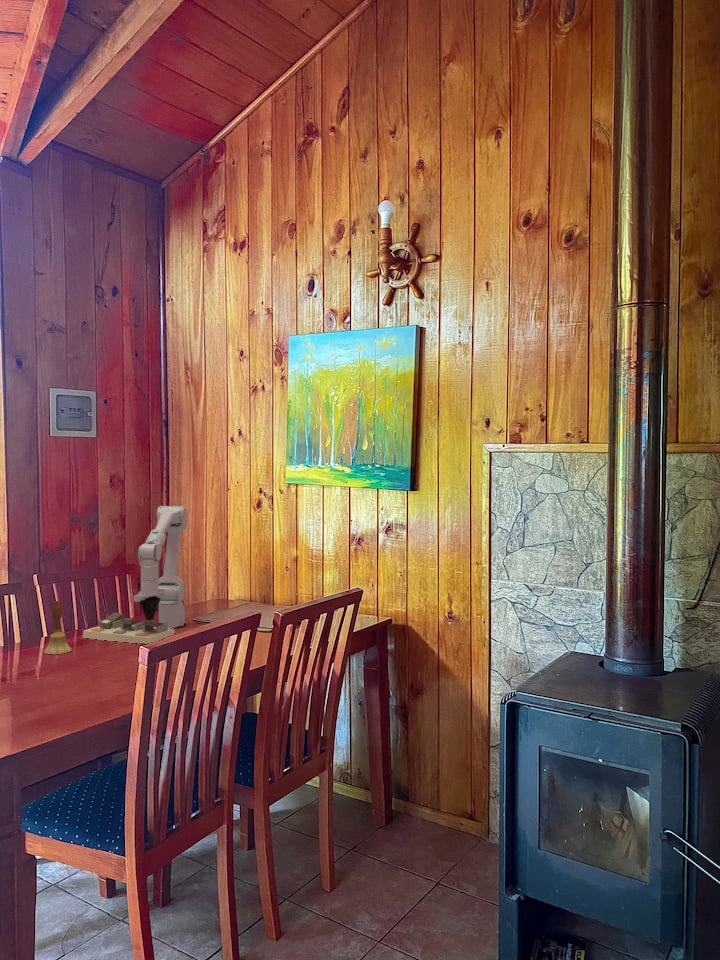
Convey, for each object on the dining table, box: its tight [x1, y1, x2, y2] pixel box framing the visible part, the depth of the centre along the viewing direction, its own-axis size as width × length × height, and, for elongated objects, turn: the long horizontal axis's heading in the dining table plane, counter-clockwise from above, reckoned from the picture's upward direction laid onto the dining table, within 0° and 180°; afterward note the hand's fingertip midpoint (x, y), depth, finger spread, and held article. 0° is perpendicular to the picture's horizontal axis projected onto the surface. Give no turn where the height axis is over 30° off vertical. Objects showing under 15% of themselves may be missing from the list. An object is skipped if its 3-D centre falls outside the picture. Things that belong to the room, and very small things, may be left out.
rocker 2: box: [142, 620, 166, 627], centre depth 247 cm, size 8×4×2 cm, turn 160°
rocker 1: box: [98, 612, 125, 628], centre depth 253 cm, size 8×4×2 cm, turn 160°
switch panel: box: [82, 619, 176, 645], centre depth 248 cm, size 14×27×5 cm, turn 70°
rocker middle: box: [121, 617, 144, 625], centre depth 250 cm, size 8×4×2 cm, turn 160°
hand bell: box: [43, 600, 73, 656], centre depth 228 cm, size 8×8×16 cm
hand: (149, 619), depth 244 cm, fingers closed
